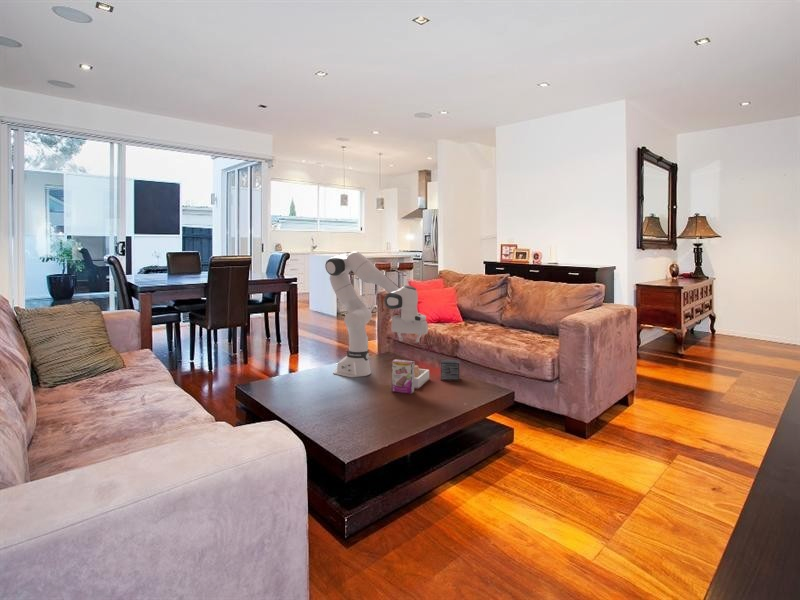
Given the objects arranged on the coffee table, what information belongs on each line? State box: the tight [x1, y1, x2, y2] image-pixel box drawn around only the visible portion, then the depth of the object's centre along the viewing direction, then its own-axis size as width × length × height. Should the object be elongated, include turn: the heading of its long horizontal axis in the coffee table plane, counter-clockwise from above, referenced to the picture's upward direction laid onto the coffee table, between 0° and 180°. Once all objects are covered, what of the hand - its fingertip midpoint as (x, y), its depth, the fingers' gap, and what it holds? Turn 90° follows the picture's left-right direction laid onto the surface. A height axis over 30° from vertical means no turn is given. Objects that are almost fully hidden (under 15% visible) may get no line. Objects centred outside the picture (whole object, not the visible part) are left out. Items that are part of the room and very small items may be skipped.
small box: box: [440, 359, 460, 382], centre depth 257 cm, size 11×6×10 cm, turn 84°
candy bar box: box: [391, 359, 416, 395], centre depth 234 cm, size 11×5×16 cm, turn 71°
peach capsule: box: [414, 364, 420, 378], centre depth 255 cm, size 5×5×7 cm
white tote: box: [414, 368, 430, 389], centre depth 251 cm, size 14×18×6 cm
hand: (409, 341), depth 244 cm, fingers open, 8 cm apart
